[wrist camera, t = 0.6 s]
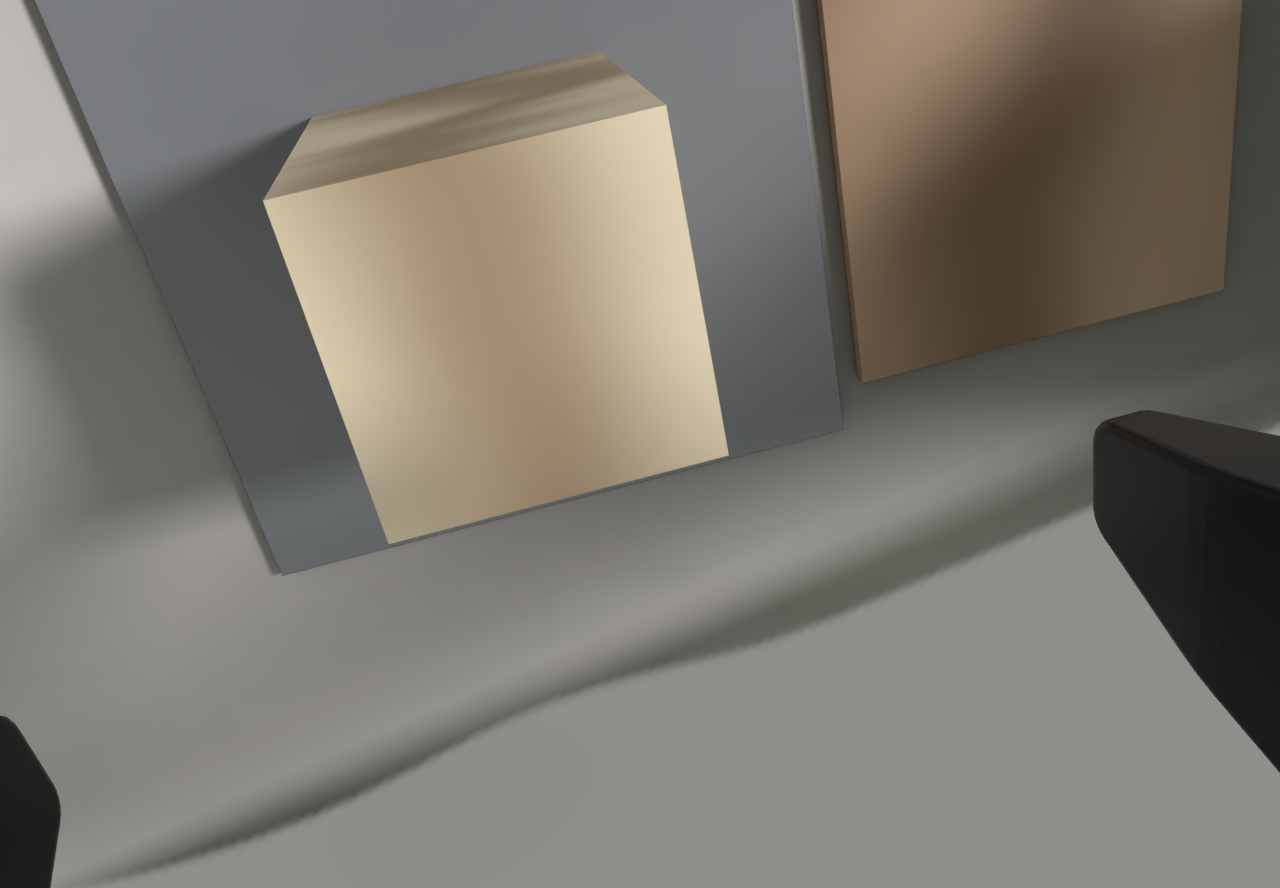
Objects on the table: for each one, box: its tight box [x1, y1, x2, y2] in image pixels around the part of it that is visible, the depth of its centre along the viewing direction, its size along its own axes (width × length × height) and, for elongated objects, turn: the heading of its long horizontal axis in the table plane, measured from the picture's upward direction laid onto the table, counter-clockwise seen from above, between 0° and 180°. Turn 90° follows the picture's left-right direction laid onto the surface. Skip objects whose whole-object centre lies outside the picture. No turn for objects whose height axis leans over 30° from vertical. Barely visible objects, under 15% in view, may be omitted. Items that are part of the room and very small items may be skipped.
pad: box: [817, 0, 1242, 383], centre depth 21 cm, size 8×8×1 cm
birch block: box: [263, 50, 729, 544], centre depth 17 cm, size 5×5×6 cm
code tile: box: [35, 0, 843, 576], centre depth 20 cm, size 12×12×1 cm
